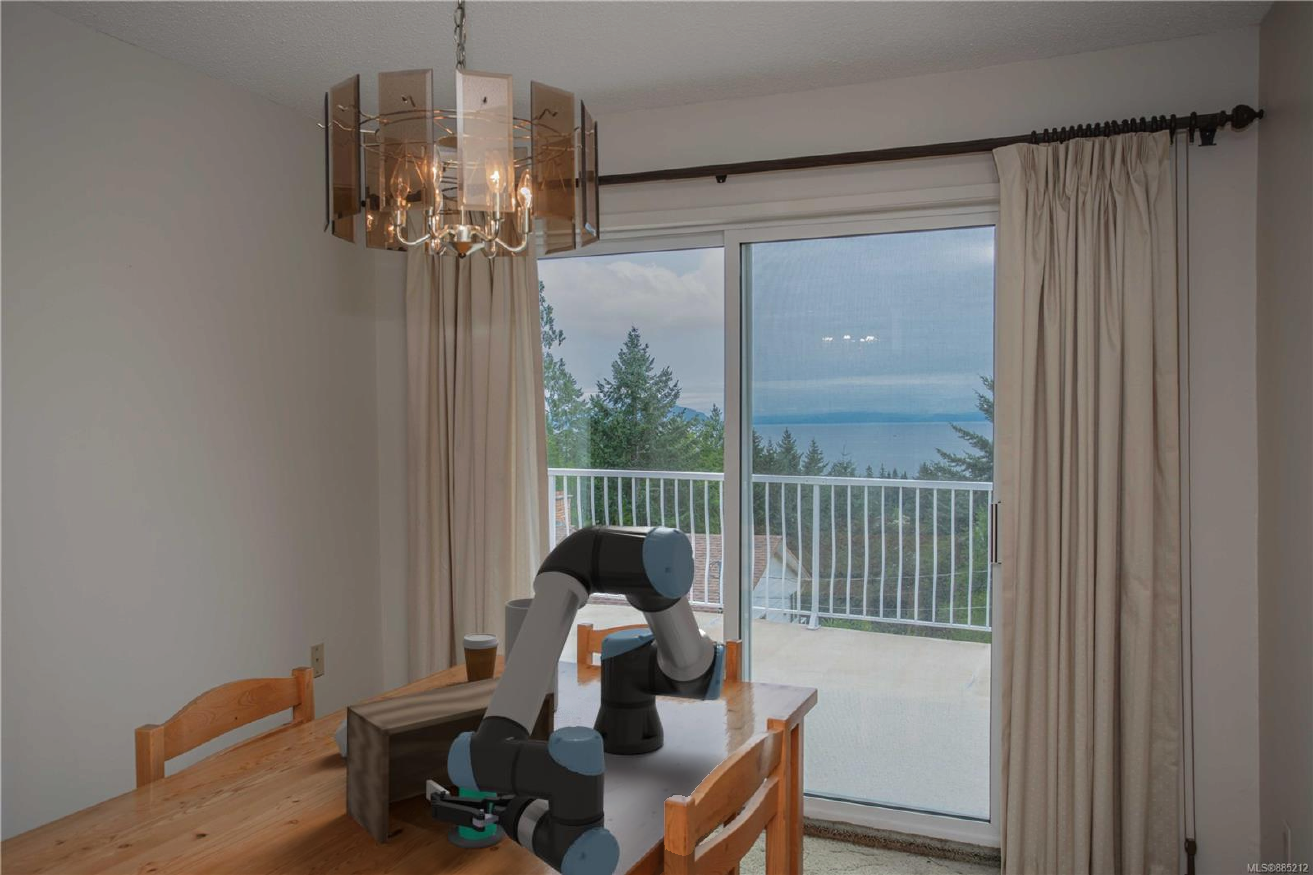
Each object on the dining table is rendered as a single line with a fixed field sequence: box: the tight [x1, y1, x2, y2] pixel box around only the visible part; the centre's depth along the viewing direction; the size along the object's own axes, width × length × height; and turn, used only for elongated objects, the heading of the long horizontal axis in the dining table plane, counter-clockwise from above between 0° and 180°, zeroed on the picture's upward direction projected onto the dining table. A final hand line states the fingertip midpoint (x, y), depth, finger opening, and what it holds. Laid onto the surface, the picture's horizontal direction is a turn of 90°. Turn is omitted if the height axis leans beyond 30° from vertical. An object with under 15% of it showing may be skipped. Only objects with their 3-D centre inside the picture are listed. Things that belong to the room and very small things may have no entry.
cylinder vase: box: [504, 597, 560, 712], centre depth 204 cm, size 12×12×25 cm
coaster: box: [447, 824, 506, 850], centre depth 140 cm, size 9×9×1 cm
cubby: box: [345, 676, 555, 845], centre depth 152 cm, size 15×32×18 cm, turn 130°
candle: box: [458, 787, 498, 840], centre depth 140 cm, size 6×6×12 cm
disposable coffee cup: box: [461, 632, 500, 683], centre depth 226 cm, size 10×10×12 cm
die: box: [332, 715, 347, 758], centre depth 175 cm, size 8×9×10 cm
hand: (467, 778), depth 142 cm, fingers open, 13 cm apart
